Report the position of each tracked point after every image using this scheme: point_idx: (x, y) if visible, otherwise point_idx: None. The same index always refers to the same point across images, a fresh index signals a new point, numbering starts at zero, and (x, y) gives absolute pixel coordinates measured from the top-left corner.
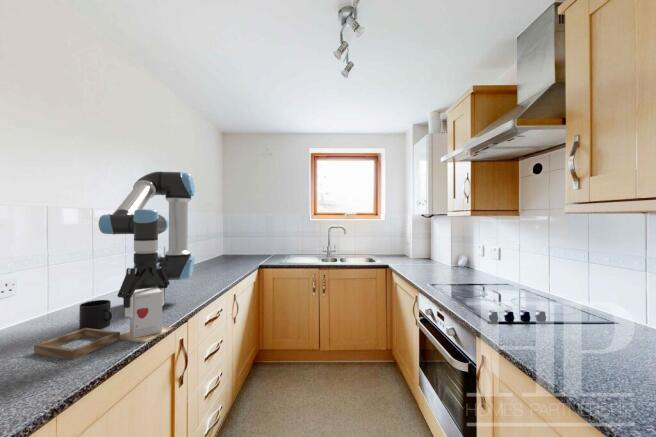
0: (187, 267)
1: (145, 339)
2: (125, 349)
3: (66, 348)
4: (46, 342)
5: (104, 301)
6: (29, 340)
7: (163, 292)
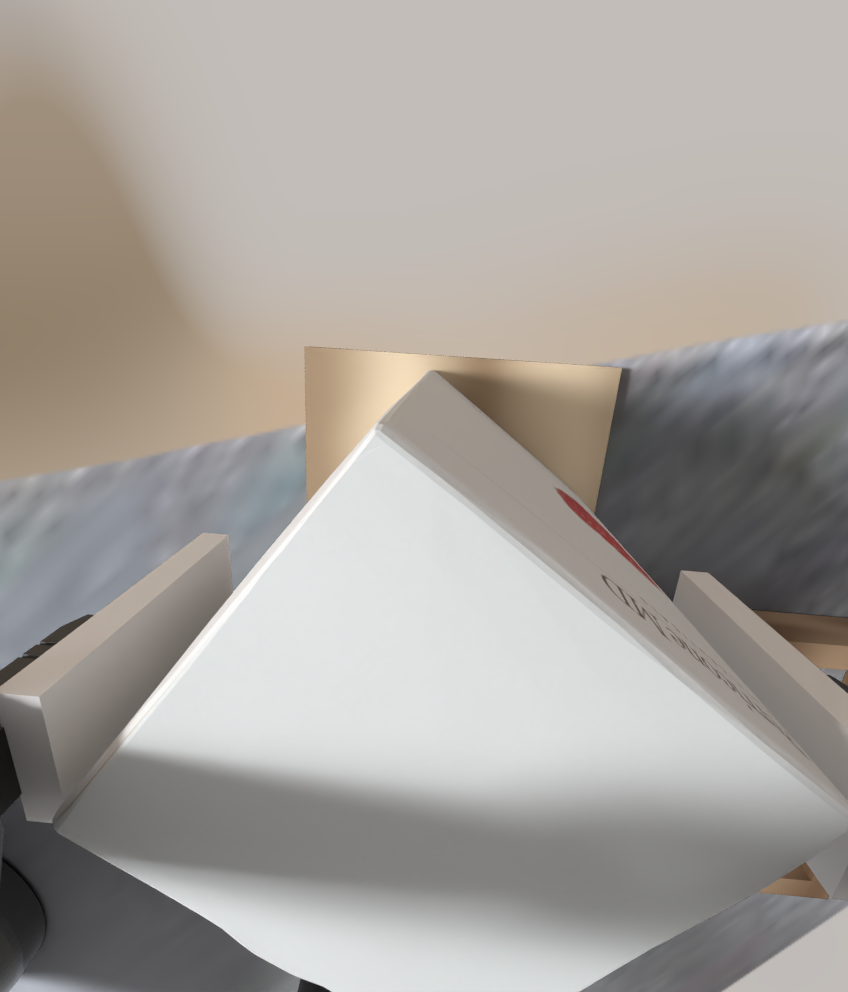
0: None
1: (587, 394)
2: (738, 426)
3: None
4: (782, 880)
5: None
6: (629, 979)
7: (82, 637)
